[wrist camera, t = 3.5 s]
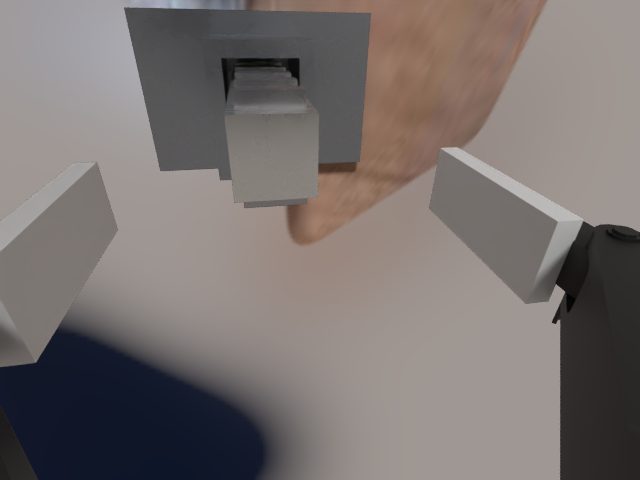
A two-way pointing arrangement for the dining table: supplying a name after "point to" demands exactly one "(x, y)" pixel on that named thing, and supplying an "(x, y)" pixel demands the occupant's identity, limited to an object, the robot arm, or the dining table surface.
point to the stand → (220, 59)
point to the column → (271, 136)
